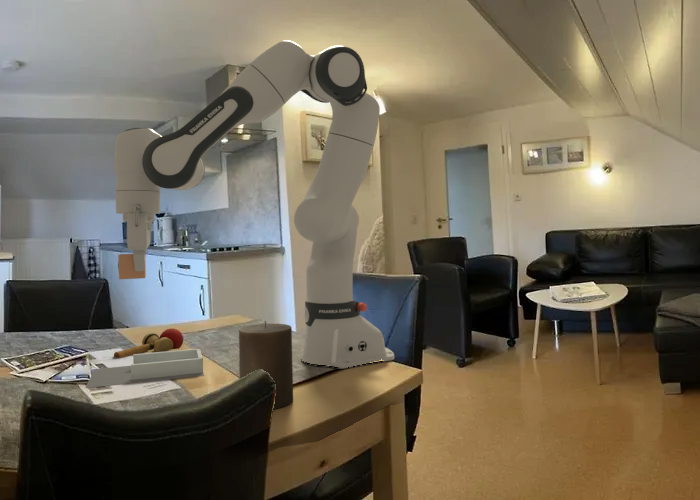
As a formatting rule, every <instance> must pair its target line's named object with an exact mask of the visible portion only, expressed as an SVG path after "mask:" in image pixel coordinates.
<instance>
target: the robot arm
mask: <svg viewBox="0 0 700 500" xmlns="http://www.w3.org/2000/svg"><path fill="white" fill-rule="evenodd" d="M365 72H366V71H365V66H364V62H363V60H362V58H361V56H360V55H359V53H358V52H357V51H355V49H353V48H351V47H349V46H346V45H333V46H330V47H328V48H326V49H324V50H323V51H321V52H320V51H319V53H317V54H315V55H310V54H309V53H308V52H306V51H305V49H303V48H302V46H300V44H298V43H296V42H294V41H291V40H289V39H286V40H281V41H279V42H277V43H275V44H273V45H272V46H270V47H269V48H268V49H265V50H264V51H263V52H262V53H261V54H259V55H258V56H257V57H256V58H254V60H252V61H251V62H250V63H249V64H248V65H247V66H246V67H245V68H244V69H243V70H242V71H241V72H240V73H239V74H237V76H236V77H235V78H234V79H233V80H232V81H231V82H230V84H229V85H228V86H227V87H226V88H225V89H224V90H223V92H221V94H220V95H219V96H217V97H216V99H213V101H212V102H211V103H210V104H208V105H206V107H205V108H203V109H202V110H201V111H200V112H199V113H198V114H196V115H195V116H194V117H193V118H191V120H189V121H188V122H187V123H186V124H184V125H183V126H182V127H181V128H179V129H178V130H176V131H174V132H171V133H168V134H166V135H161V134H159V133H158V132H156V130H154V129H152V128H149V127H134V128H129V129H125V130H122V131H121V132H120V133H118V135H117V136H116V140H115V146H114V172H115V176H116V185H115V191H114V192H115V213H116V214H121V215H122V222H126V243H127V244H126V245H127V249H128V250H129V251H132V254H133V256H134V263H135V271H143V270H144V254H145V258H146V256H147V254H146V253H147V249H148V248H149V247H150V245H151V239H152V226H153V222H154V221H155V219H156V218H155V215H156V214H161V188H163V189H167V190H168V189H169V190H171V189H172V190H175V191H176V190H178V191H187V190H190V189H193V188H195V187H197V186H199V184H200V183H201V182H202V181H203V179H204V176H205V172H206V171H205V170H206V169H205V167H206V166H205V164H204V161H203V158H202V157H203V156H204V155H205V154H206V153H207V151H209V150H210V149H211V148H212V147H213V146H214V145H216V144H217V143H218V142H219V141H220V140H221V139H222V138H223V137H225V135H227V134H228V133H229V132H230V131H232V130H233V129H235V128H236V127H238V126H242V125H246V124H260V123H262V122H263V121H266V120H267V119H268V118H270V117H271V116H272V115H274V114H275V113H277V112H279V110H280V109H281V108H283V106H285V104H286V103H287V102H289V100H291V98H292V97H293V96H295V95H296V94H297V93H299V92H301V93H303V94H305V95H307V96H308V98H309V97H310V98H311V99H312V100H314V101H316V102H319V103H324V104H330V107H331V110H332V116H331V120H332V121H331V123H330V126H329V129H328V133H327V137H326V139H325V140H326V141H325V144H324V147H323V151H322V155H321V159H320V162H319V165H318V168H317V170H316V173H315V175H314V177H313V179H312V180H311V183H310V184H309V187H308V189H307V192H306V193H305V196H304V198H303V200H301V201H302V202H300V204H298V206H297V207H296V209H295V213H294V216H293V222H294V226H295V229H296V231H297V232H298V234H299V235H300V236H301V237H302V238H303V239H304V238H305V240H307V241H309V242H311V243H312V246H311V251H310V252H311V253H310V256H309V260H308V263H307V265H306V271H305V272H306V300H305V301H304V302H305V303H304V323H305V325H306V326H305V337H304V345H303V350H302V352H301V353H302V354H301V357H300V360H301V359H302V360H303V361H305V362H308V363H312V364H320V365H330V366H335V367H340V368H339V369H348V367H349V368H354V367H353V366H355V367H358V366H357V365H360V366H363V365H362V364H365V363H370V362H374V361H379V360H381V359H382V360H385V361H384V362H388V361H393V360H394V359H395V353H394V352H393V351H392V350H391V349H389V347H386V346H385V339H384V335H383V333H382V331H381V330H380V329H379V328H378V327H376V326H375V325H374V324H373V323H371V322H370V321H369V320H367V319H366V318H365V317H364V316H362V315H361V312H363V313H364V312H366V311H367V309H368V305H367V304H366V303H365V302H362V301H361V302H358V301H357V300H355V299H354V298H353V297H354V295H353V293H354V289H353V288H354V287H353V285H354V283H353V281H354V280H353V279H354V277H353V275H354V274H353V273H354V272H353V271H354V270H353V269H354V257H355V252H356V245H357V234H358V227H359V223H360V219H359V218H360V217H359V214H358V211H357V209H356V208H355V207H354V205H353V202H354V199H355V197H356V196H357V193H358V191H359V189H360V187H361V185H362V183H363V182H364V180H365V179H366V174H367V171H368V167H369V165H370V160H371V157H372V154H373V150H374V146H375V142H376V139H377V138H376V137H377V134H378V128H379V120H380V109H381V108H380V105H379V102H378V101H377V99H376V98H375V97H373V96H372V95H370V94H369V93H367V91H368V84H367V81H366V73H365ZM302 360H301V361H302ZM303 361H302V362H303ZM305 362H304V363H305Z"/></svg>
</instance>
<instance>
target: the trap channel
mask: <svg viewBox="0 0 700 500" xmlns="http://www.w3.org/2000/svg"><path fill="white" fill-rule="evenodd" d="M132 356H133V357H132V358H133V362H132V363H133V364H132V363H131V364H130V365H126V366H124V365H123V366H111V367H101V368H94V370H93V372H92V374H91V376H90V378H89V380H88V382H87V384H86V386H85V389H89V388H98V387H110V386H119V385H129V384H136V383H146V382H159V381H166V380H176V379H185V378H195V377H203V376H205V375H204V358H203V355H202V352H201V348H191V349H181V350H180V349H178V350H177V349H176V350H165V351H158V352H155V351H153V352H143V353H139V354H133V355H132Z"/></svg>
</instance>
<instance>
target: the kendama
mask: <svg viewBox="0 0 700 500" xmlns="http://www.w3.org/2000/svg"><path fill="white" fill-rule="evenodd" d="M183 344H184V335H183V334H182V332H181V331H180V330H179V329H176V328H166V329H165V330H163V331H162V332H161V334H160V336H159V334H157V333H155V332H148V333H146V334H145V336H144V337H143V338H142V341H141V345H137V346H134V347H130V348H129V347H128V348H125V349H122V350H118V351H115V352H114V353H113V357H114V358H116V357H117V358H119V359H123V358H127V357H131V356H133V354H143V353H148V352H149V351H153V352H161V351H171V350H177V349H178V350H180V348H182V345H183Z"/></svg>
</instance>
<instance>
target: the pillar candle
mask: <svg viewBox="0 0 700 500" xmlns="http://www.w3.org/2000/svg"><path fill="white" fill-rule="evenodd" d="M237 329H238V343H239V345H238V347H239V349H238V350H239V354H238V356H239V360H238V361H239V365H238V367H239V368H238V369H239V379H240V378H242V377H244V376H246V375H247V374H249V373H251V372H253V371H255V370H258V369H263V370H264V371H266V372H268V373H269V374H270V376H271V377H272V378H273V380H274V381H275V384H276V396H275V404H274V409H273V410H275V409H280V408H283V407H286V406H289V405H291V404H292V403H293V401H294V380H293V379H294V378H293V376H294V375H293V371H294V370H293V342H292V341H293V334H292V333H293V332H292V329H293V328H292V326H291V325H290V324H285V323H267V321H266V320H264V323H258V324H251V325H246V326H245V325H244V326H243V327H239V328H237Z"/></svg>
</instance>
